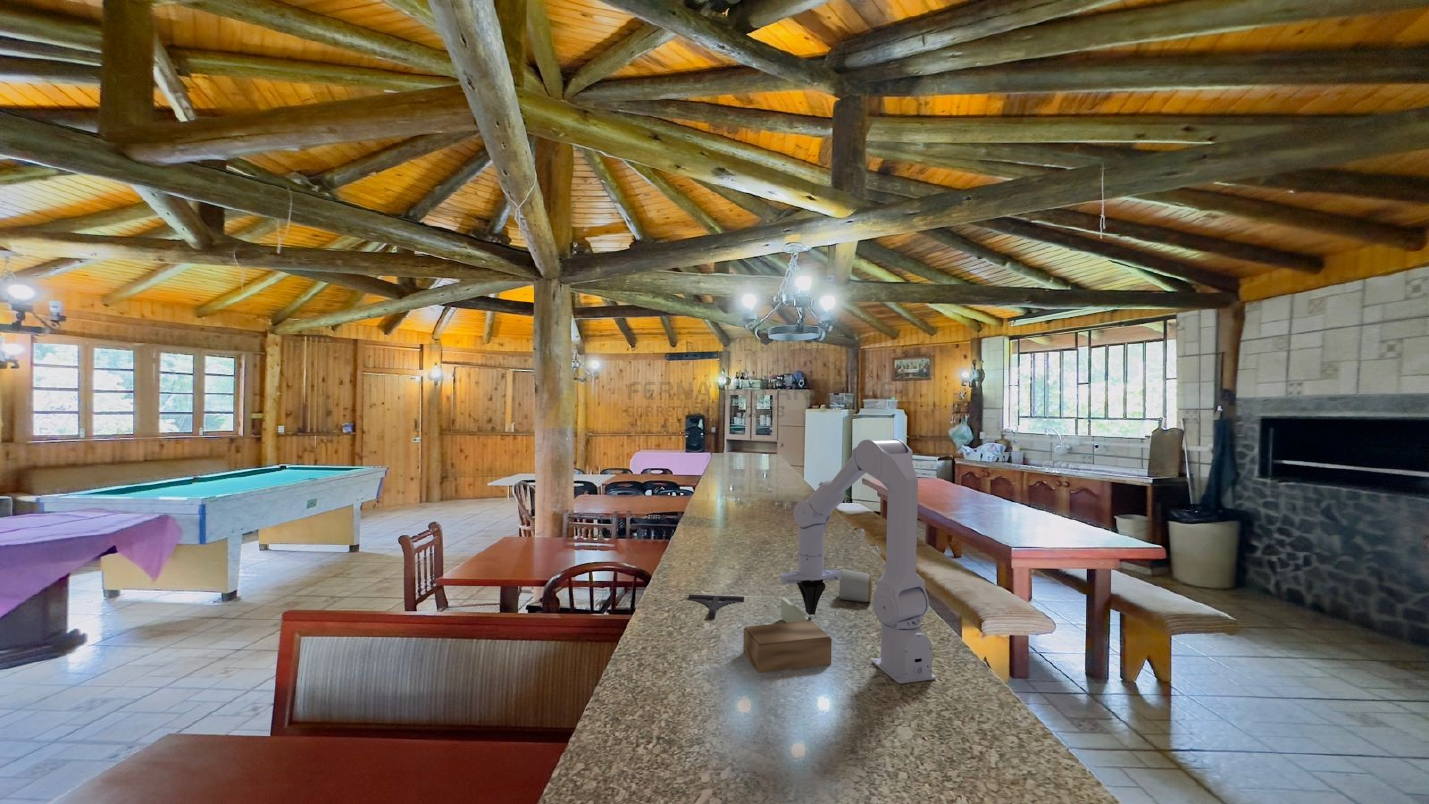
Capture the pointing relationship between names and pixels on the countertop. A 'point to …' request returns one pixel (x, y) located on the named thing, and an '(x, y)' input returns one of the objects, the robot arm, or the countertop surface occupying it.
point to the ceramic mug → (855, 586)
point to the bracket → (715, 602)
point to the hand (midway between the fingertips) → (810, 613)
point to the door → (791, 612)
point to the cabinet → (786, 646)
